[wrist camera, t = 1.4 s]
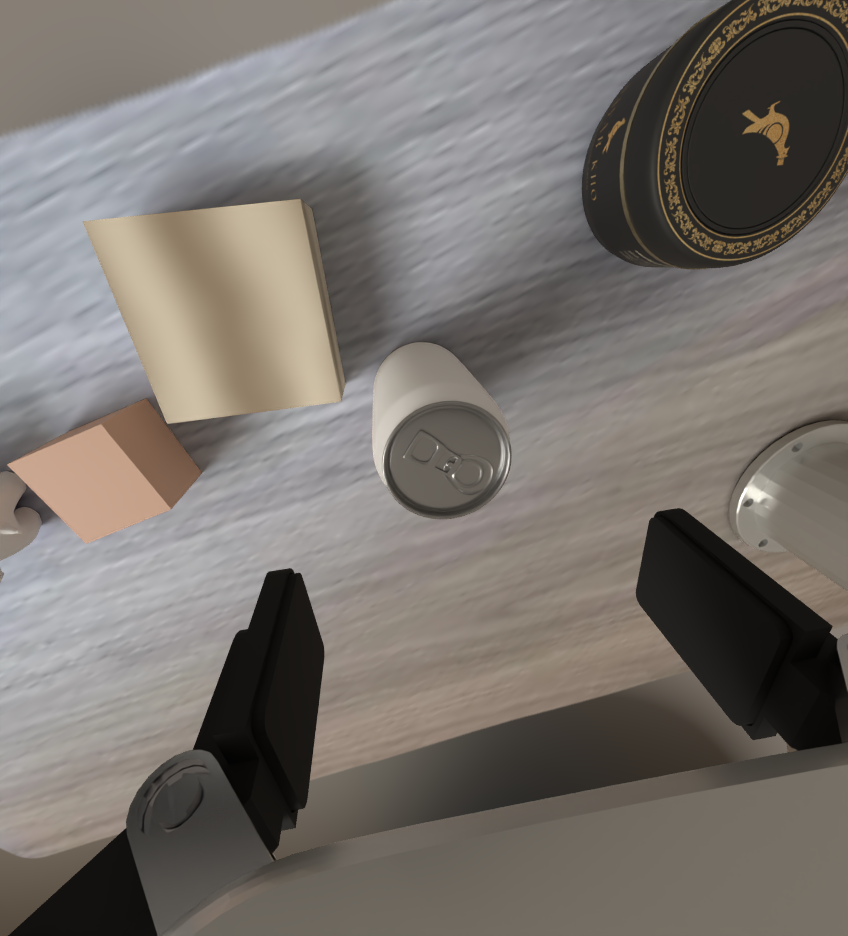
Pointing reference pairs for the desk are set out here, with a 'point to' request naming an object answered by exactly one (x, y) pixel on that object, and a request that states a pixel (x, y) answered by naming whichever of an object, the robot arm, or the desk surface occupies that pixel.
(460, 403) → the can
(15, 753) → the desk surface
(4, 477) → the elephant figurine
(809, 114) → the jar
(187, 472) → the terracotta block
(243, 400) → the birch block
